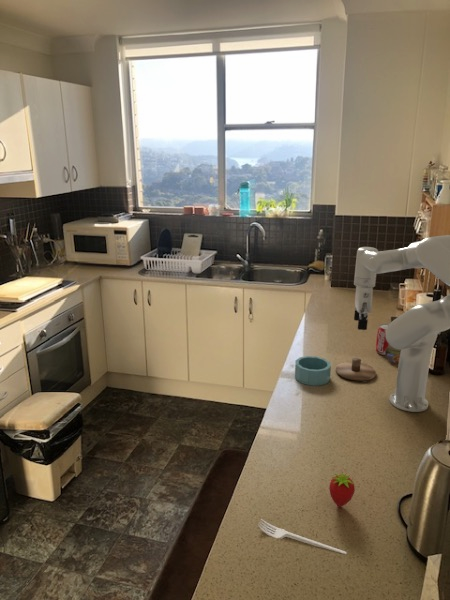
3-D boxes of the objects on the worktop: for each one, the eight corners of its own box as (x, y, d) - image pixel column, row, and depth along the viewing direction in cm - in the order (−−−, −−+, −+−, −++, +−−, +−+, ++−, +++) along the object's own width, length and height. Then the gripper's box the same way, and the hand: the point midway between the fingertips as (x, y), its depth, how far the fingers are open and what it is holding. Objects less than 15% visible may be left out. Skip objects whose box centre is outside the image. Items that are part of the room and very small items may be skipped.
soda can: (393, 356, 202) (396, 330, 198) (376, 355, 203) (379, 328, 200) (391, 350, 208) (394, 324, 205) (374, 348, 210) (377, 323, 206)
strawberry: (354, 499, 119) (358, 465, 116) (350, 520, 113) (354, 484, 110) (330, 493, 121) (333, 459, 118) (325, 513, 115) (328, 478, 112)
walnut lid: (378, 383, 179) (380, 369, 177) (337, 381, 180) (339, 366, 179) (371, 366, 193) (373, 352, 191) (333, 364, 195) (334, 350, 193)
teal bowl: (330, 386, 176) (332, 371, 174) (295, 384, 177) (296, 369, 175) (327, 371, 188) (328, 357, 186) (294, 369, 190) (295, 355, 188)
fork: (345, 562, 102) (346, 555, 102) (256, 533, 109) (256, 526, 109) (347, 550, 105) (348, 544, 105) (260, 523, 112) (261, 516, 111)
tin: (383, 361, 198) (386, 342, 195) (385, 358, 200) (387, 339, 198) (422, 369, 191) (425, 349, 188) (423, 366, 194) (426, 346, 191)
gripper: (379, 288, 167) (374, 333, 172) (371, 275, 183) (366, 317, 188) (357, 287, 168) (353, 332, 173) (351, 274, 184) (347, 316, 189)
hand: (360, 324), depth 181 cm, fingers open, 9 cm apart
